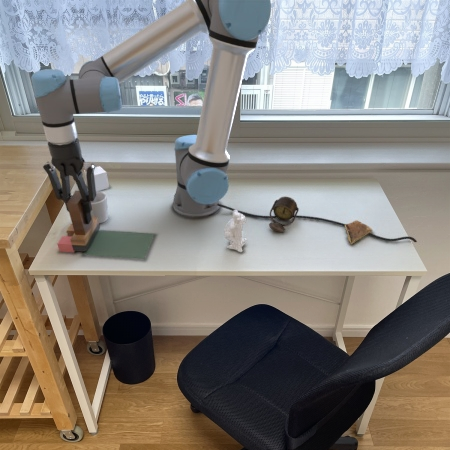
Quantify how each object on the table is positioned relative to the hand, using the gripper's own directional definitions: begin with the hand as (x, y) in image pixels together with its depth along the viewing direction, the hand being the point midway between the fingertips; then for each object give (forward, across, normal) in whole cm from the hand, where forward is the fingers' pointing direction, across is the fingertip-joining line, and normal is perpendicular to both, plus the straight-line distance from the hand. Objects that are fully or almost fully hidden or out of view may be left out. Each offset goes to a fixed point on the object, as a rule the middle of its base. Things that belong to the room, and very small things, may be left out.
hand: (82, 221), depth 125 cm
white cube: (+8, +8, -35) cm, 37 cm away
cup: (+8, +1, -12) cm, 14 cm away
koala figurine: (+8, -44, -3) cm, 44 cm away
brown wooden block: (+6, 0, 0) cm, 6 cm away
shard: (+8, -81, -13) cm, 82 cm away
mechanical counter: (+8, -57, -18) cm, 60 cm away
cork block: (+7, +4, -3) cm, 9 cm away
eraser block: (+7, +4, +3) cm, 9 cm away
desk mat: (+8, -10, 0) cm, 12 cm away
